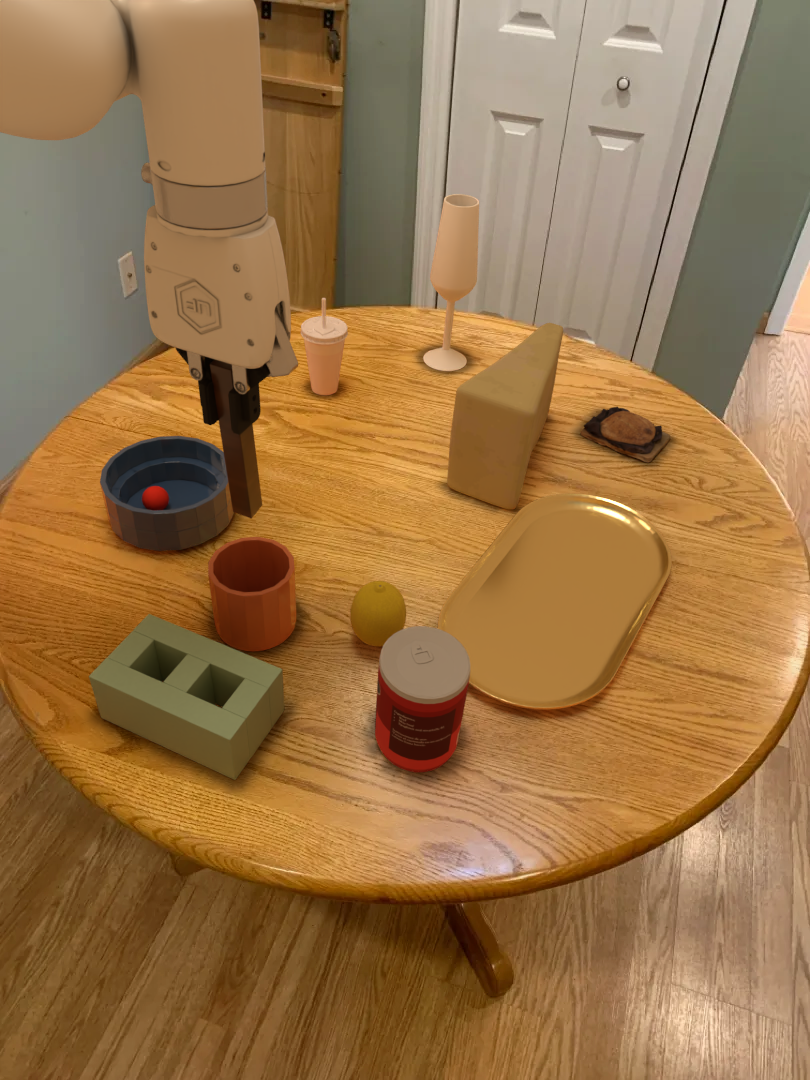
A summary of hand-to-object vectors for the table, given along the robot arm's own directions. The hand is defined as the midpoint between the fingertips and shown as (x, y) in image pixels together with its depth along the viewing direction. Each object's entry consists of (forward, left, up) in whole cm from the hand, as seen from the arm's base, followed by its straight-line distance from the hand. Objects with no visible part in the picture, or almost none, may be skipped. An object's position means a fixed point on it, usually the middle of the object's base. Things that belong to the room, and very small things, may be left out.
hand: (231, 419), depth 70 cm
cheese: (+35, +27, -25) cm, 50 cm away
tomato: (-10, +19, -23) cm, 31 cm away
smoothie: (+12, +45, -25) cm, 53 cm away
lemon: (+13, -3, -25) cm, 29 cm away
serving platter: (+33, +1, -25) cm, 42 cm away
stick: (+1, +1, -11) cm, 11 cm away
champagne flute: (+31, +52, -25) cm, 65 cm away
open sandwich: (+52, +30, -25) cm, 65 cm away
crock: (+1, +1, -25) cm, 25 cm away
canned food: (+15, -15, -25) cm, 33 cm away
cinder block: (-5, -10, -25) cm, 28 cm away
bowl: (-8, +19, -25) cm, 32 cm away
